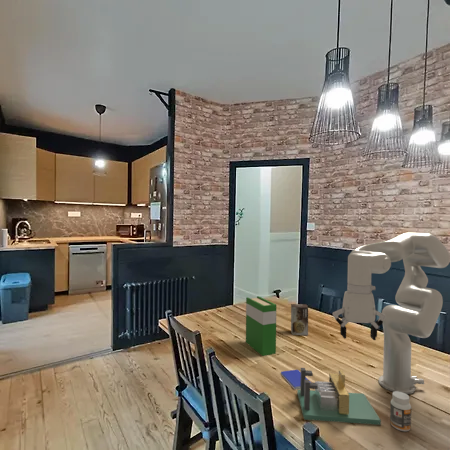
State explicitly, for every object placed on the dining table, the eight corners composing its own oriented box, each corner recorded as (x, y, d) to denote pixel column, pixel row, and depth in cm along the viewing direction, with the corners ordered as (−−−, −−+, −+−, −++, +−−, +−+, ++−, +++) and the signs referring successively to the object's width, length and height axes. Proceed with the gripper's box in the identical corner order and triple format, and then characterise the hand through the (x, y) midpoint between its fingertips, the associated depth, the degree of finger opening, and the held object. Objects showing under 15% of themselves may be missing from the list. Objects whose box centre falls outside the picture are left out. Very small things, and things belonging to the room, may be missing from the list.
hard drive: (313, 384, 120) (298, 369, 132) (294, 386, 118) (280, 371, 130) (313, 388, 120) (298, 372, 132) (294, 390, 118) (280, 375, 130)
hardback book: (245, 342, 162) (246, 297, 162) (257, 340, 165) (258, 296, 165) (262, 356, 146) (263, 306, 146) (275, 353, 149) (276, 304, 149)
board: (363, 397, 113) (364, 368, 112) (380, 424, 98) (381, 391, 97) (297, 393, 115) (297, 365, 115) (304, 419, 100) (304, 386, 100)
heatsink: (337, 394, 111) (337, 380, 111) (345, 412, 102) (345, 395, 101) (314, 393, 112) (315, 378, 112) (320, 410, 102) (321, 394, 102)
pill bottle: (408, 435, 93) (409, 402, 93) (387, 426, 97) (388, 395, 97) (412, 425, 97) (413, 394, 97) (392, 418, 101) (393, 388, 101)
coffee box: (306, 331, 179) (306, 304, 179) (308, 335, 173) (308, 307, 173) (290, 330, 180) (291, 303, 180) (291, 334, 174) (292, 306, 174)
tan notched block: (337, 390, 113) (337, 362, 113) (349, 414, 99) (349, 382, 99) (328, 390, 114) (329, 362, 114) (339, 414, 100) (340, 382, 100)
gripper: (381, 287, 109) (380, 335, 109) (330, 285, 111) (330, 332, 111) (389, 292, 101) (389, 343, 101) (335, 290, 103) (334, 340, 104)
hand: (358, 337), depth 106 cm, fingers open, 9 cm apart
